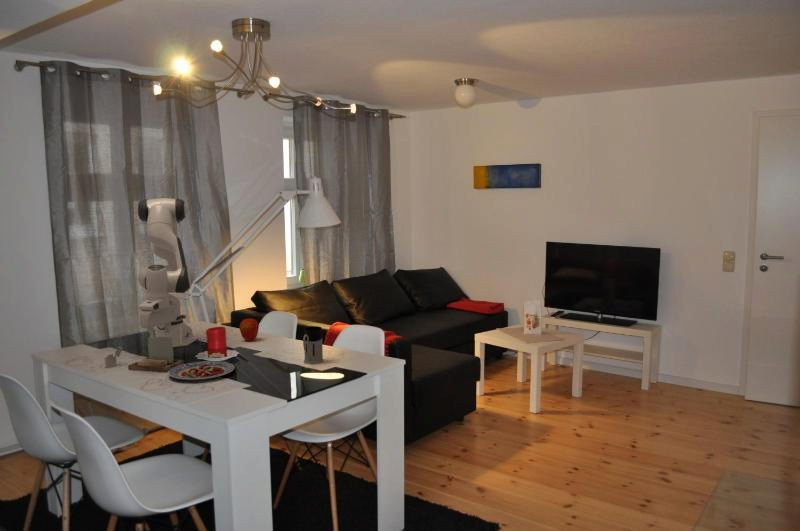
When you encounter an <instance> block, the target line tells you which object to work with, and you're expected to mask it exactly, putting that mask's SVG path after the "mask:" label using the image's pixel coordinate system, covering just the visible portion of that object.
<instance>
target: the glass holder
mask: <svg viewBox="0 0 800 531" xmlns="http://www.w3.org/2000/svg"><path fill="white" fill-rule="evenodd" d="M322 329H323V328H322V327H321V326H316V325H314V326H313V325H311V326H306V327H304V330H303V333H304V335H303V339H302V344H303V352H304V359H303V363H304V364H305V365H319V364H322V363H324V362H325V360H324V359H323V358H324V357H323V356H324V355H323V353H324V350H323V336H322V335H323V334H322V332H323V330H322Z"/></svg>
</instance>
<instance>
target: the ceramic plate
mask: <svg viewBox="0 0 800 531" xmlns="http://www.w3.org/2000/svg"><path fill="white" fill-rule="evenodd" d="M234 369H235V366H234V364H232V363H230V362H226V361H219V360H216V361H215V360H209V361H208V360H206V361H195V362H188V363H184V365H180V366H177V367H175V368H173V369H171V370H170V371H168V372H167V373H168V376H170V377H172V378H174V379H177V380H186V381H206V380H211V379H216V378H218V377H222V376H225V375H227V374H230V373H231V372H233V371H234Z"/></svg>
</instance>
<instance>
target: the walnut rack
mask: <svg viewBox="0 0 800 531" xmlns="http://www.w3.org/2000/svg"><path fill="white" fill-rule="evenodd" d="M143 359H149V357H145V358H143ZM143 359H141V360H143ZM173 361H174V363H172V362H167V366H166V367H157V366H144V365H139V364H137V361H134V362H133V363H130V364H128V365H127V367H128V370H129V371H130V370H131V371H141V372H151V371H152V373H154V372H155V373H164V372H166V373H168V372H169V371H170V370H171V369H173V368H175V367H177V366H180V365H184V364H185V363H184V359H174V358H173Z"/></svg>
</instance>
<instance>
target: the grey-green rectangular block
mask: <svg viewBox="0 0 800 531" xmlns="http://www.w3.org/2000/svg"><path fill="white" fill-rule="evenodd" d="M147 346H148V358H149V359H152V360H166V361H167V362H172V363H174V361H173V359H174V347H173V341H172V338H169V337H154V338H150V336H149V337H148V338H147Z"/></svg>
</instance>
